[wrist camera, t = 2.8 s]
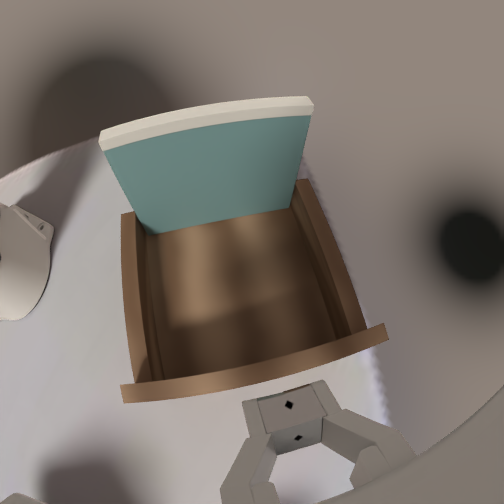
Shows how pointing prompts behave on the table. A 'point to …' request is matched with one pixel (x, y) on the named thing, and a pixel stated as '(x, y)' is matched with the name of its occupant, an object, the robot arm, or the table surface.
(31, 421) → the table surface
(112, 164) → the teal flat panel
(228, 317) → the wooden drawer
